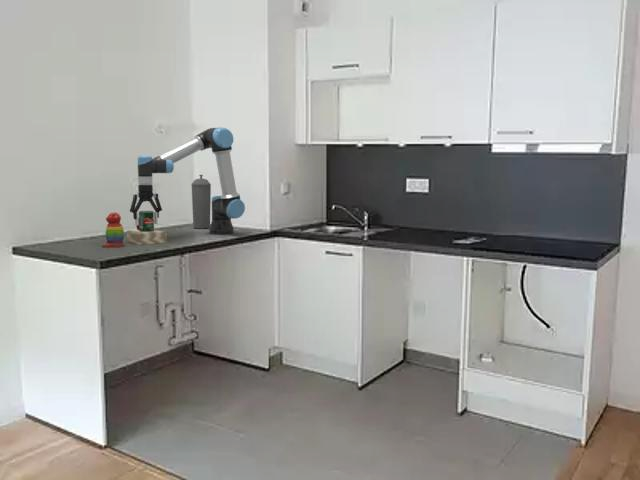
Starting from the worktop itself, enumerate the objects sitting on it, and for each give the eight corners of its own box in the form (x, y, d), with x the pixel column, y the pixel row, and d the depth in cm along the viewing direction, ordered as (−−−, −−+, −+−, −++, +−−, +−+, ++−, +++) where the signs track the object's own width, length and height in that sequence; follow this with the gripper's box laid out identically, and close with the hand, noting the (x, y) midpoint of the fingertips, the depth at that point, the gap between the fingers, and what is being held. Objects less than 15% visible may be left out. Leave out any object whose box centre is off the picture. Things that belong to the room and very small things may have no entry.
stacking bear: (108, 244, 333) (107, 211, 330) (127, 244, 333) (126, 211, 330) (101, 247, 322) (100, 213, 320) (120, 247, 322) (119, 213, 319)
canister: (197, 226, 416) (196, 174, 411) (214, 227, 412) (214, 174, 407) (188, 228, 403) (187, 174, 399) (206, 229, 400) (205, 175, 395)
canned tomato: (144, 230, 347) (144, 210, 346) (156, 230, 345) (156, 211, 344) (136, 231, 340) (135, 211, 338) (149, 232, 338) (148, 212, 336)
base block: (153, 239, 354) (153, 228, 354) (166, 242, 342) (166, 231, 342) (127, 241, 344) (126, 230, 343) (139, 244, 332) (139, 233, 331)
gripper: (161, 183, 349) (162, 222, 352) (122, 184, 334) (123, 225, 337) (167, 184, 343) (168, 223, 347) (128, 185, 329) (129, 226, 332)
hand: (146, 224), depth 342 cm, fingers open, 10 cm apart
